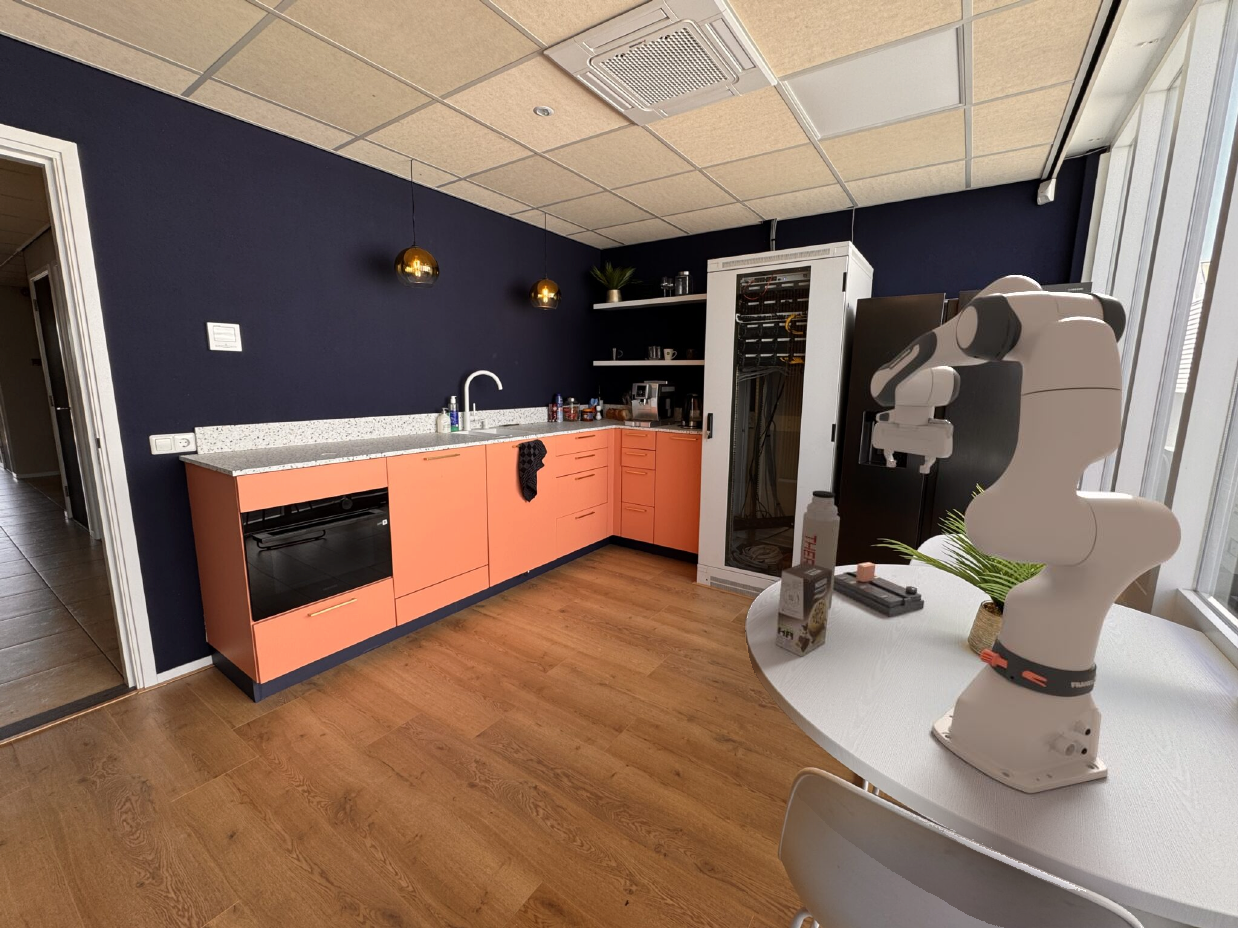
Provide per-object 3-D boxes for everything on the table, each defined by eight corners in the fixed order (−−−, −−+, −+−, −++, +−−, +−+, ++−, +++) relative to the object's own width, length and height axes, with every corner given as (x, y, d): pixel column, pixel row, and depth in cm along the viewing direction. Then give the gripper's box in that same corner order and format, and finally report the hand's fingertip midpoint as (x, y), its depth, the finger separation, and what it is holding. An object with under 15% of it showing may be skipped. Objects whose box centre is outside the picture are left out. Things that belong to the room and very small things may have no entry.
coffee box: (802, 657, 100) (809, 580, 97) (774, 644, 105) (780, 570, 102) (826, 643, 106) (833, 569, 103) (798, 631, 111) (804, 560, 108)
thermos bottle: (810, 613, 119) (820, 496, 114) (789, 598, 127) (798, 489, 122) (838, 609, 122) (849, 495, 117) (816, 595, 129) (826, 487, 124)
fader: (862, 587, 129) (864, 566, 128) (855, 584, 131) (857, 563, 130) (873, 585, 131) (875, 564, 130) (866, 582, 132) (868, 561, 131)
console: (889, 617, 118) (891, 599, 117) (828, 587, 134) (829, 571, 133) (923, 608, 123) (925, 591, 122) (860, 580, 139) (862, 565, 138)
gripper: (962, 420, 123) (954, 476, 125) (887, 413, 141) (881, 462, 144) (945, 420, 120) (938, 478, 123) (871, 414, 139) (865, 464, 141)
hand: (907, 469), depth 133 cm, fingers open, 8 cm apart
